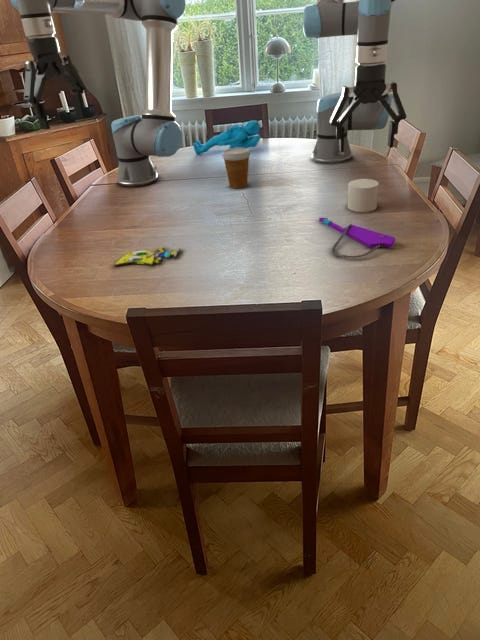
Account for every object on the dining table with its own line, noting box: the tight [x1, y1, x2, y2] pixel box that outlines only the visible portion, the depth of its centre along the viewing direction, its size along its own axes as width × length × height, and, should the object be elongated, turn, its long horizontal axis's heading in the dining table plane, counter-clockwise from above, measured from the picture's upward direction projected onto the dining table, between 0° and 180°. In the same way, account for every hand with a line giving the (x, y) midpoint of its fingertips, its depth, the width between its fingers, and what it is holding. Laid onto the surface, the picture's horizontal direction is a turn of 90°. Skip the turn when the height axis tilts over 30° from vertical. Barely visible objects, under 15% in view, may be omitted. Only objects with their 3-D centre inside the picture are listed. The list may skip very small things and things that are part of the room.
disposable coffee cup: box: [222, 148, 251, 189], centre depth 166 cm, size 10×10×12 cm
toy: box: [192, 120, 261, 155], centre depth 208 cm, size 17×11×30 cm
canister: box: [347, 178, 379, 213], centre depth 141 cm, size 8×8×7 cm
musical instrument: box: [318, 217, 396, 259], centre depth 123 cm, size 24×2×20 cm
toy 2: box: [114, 247, 181, 267], centre depth 124 cm, size 10×1×15 cm
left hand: (64, 123), depth 136 cm, fingers open, 13 cm apart
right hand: (365, 148), depth 134 cm, fingers open, 13 cm apart
